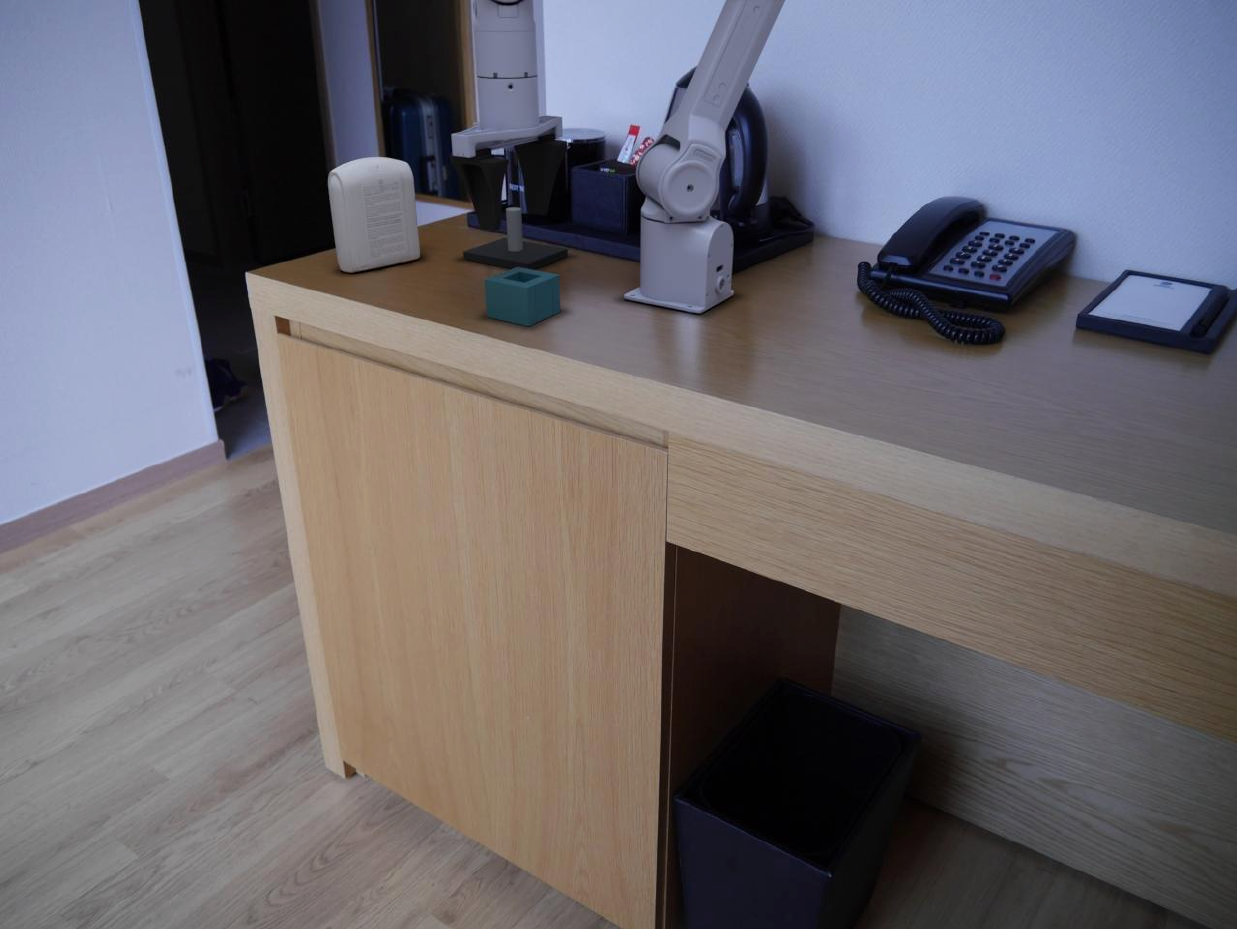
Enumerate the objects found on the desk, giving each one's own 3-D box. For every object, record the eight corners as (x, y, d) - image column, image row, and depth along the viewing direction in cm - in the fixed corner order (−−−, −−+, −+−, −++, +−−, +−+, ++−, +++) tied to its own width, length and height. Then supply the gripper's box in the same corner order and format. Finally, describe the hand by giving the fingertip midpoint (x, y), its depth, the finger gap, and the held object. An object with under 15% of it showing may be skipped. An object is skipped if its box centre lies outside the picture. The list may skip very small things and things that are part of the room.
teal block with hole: (560, 312, 100) (559, 274, 98) (528, 326, 96) (527, 287, 94) (519, 303, 102) (517, 266, 101) (486, 317, 98) (484, 279, 96)
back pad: (567, 256, 119) (566, 207, 116) (528, 272, 113) (526, 220, 110) (504, 245, 123) (501, 197, 121) (463, 259, 117) (459, 210, 115)
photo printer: (407, 252, 120) (396, 150, 114) (426, 259, 117) (416, 154, 112) (333, 269, 114) (317, 161, 108) (351, 276, 111) (337, 166, 105)
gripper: (521, 67, 97) (527, 202, 104) (421, 80, 87) (435, 230, 93) (578, 71, 94) (580, 210, 100) (481, 85, 83) (491, 240, 90)
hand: (514, 221), depth 96 cm, fingers open, 7 cm apart
